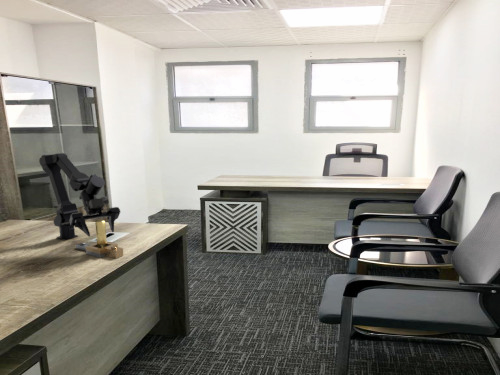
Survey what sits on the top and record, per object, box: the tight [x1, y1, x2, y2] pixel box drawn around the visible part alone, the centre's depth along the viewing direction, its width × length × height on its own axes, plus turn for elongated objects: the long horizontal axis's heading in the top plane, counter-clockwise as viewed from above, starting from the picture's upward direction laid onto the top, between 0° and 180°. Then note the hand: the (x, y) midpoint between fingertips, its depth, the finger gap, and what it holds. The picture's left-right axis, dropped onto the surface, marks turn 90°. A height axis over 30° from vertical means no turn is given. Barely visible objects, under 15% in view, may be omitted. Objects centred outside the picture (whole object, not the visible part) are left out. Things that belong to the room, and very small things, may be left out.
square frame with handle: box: [75, 241, 124, 259], centre depth 149 cm, size 24×8×3 cm, turn 60°
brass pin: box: [94, 219, 108, 248], centre depth 147 cm, size 4×4×13 cm
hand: (101, 233), depth 147 cm, fingers open, 9 cm apart
